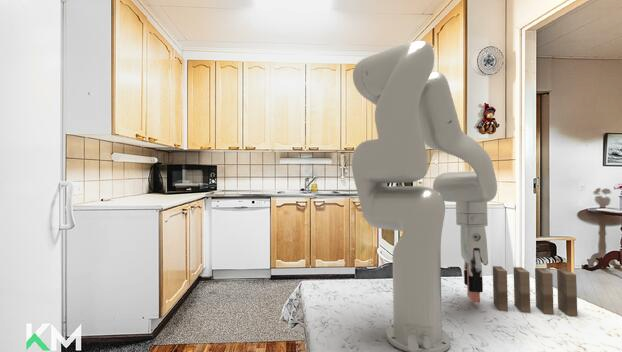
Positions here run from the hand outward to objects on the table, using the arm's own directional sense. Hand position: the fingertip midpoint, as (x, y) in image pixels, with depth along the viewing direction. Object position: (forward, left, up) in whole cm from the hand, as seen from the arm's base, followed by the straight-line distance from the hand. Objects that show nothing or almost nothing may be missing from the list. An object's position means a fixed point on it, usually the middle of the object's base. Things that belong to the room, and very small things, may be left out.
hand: (473, 287), depth 88 cm
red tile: (0, 0, -3) cm, 3 cm away
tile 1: (0, -21, -5) cm, 22 cm away
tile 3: (0, -11, -5) cm, 12 cm away
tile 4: (0, -6, -5) cm, 8 cm away
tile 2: (0, -16, -5) cm, 17 cm away
